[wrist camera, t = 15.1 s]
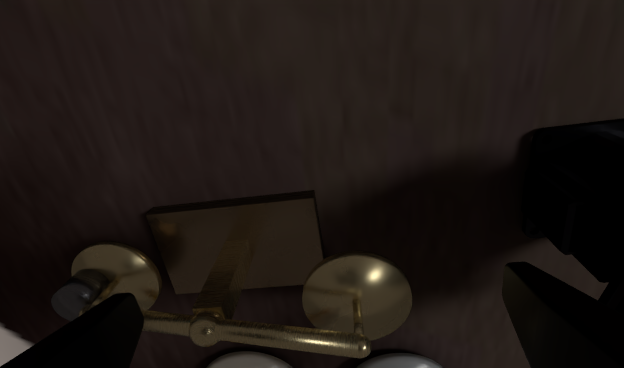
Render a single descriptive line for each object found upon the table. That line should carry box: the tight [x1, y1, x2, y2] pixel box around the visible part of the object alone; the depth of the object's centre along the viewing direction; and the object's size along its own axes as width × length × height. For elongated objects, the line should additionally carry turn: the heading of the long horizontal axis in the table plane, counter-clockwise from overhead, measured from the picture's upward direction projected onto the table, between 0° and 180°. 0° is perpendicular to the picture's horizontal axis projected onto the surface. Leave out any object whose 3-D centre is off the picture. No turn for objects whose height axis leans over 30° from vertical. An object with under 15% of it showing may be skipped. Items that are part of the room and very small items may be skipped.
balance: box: [51, 190, 412, 358], centre depth 19 cm, size 19×6×9 cm, turn 98°
